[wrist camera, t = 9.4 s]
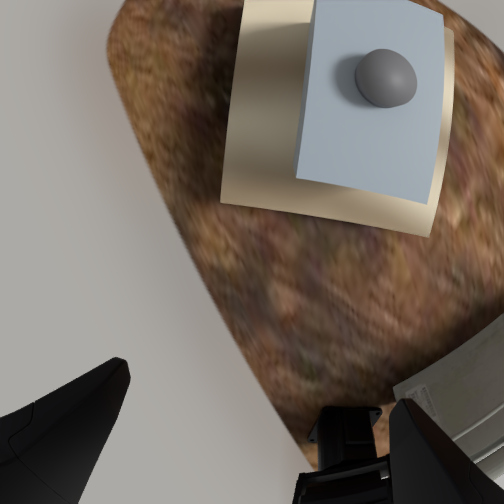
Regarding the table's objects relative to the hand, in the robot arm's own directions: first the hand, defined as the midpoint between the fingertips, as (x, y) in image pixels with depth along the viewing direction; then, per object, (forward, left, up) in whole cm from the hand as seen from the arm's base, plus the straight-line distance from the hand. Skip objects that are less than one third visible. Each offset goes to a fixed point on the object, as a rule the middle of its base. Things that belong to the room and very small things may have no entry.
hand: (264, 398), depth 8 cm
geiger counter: (-4, -22, -12) cm, 26 cm away
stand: (+10, -3, -12) cm, 16 cm away
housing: (+10, -3, -9) cm, 14 cm away
